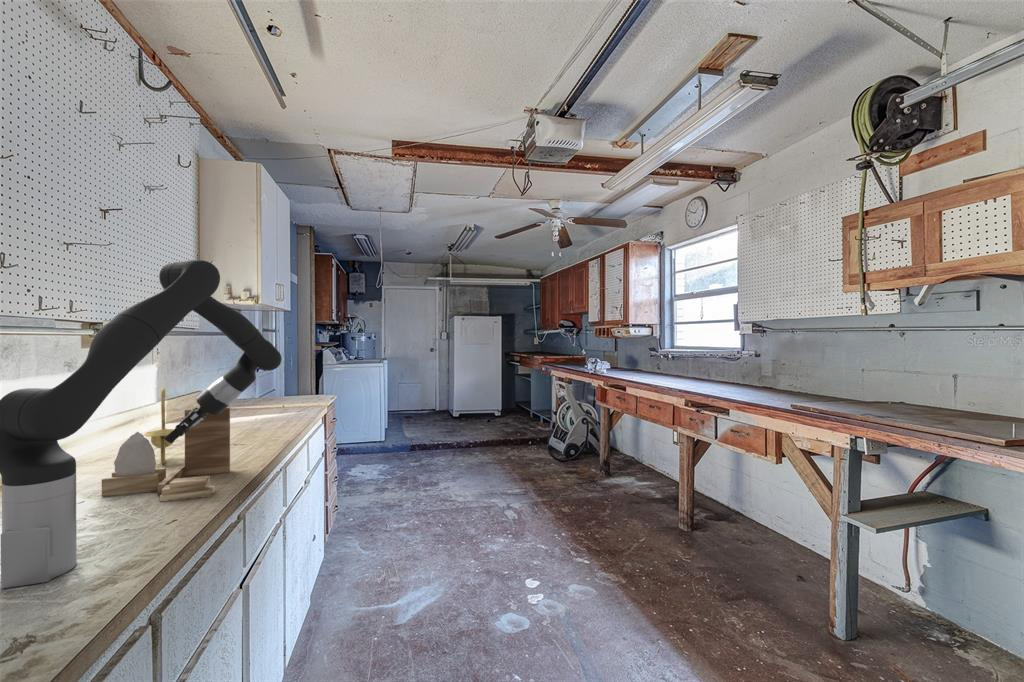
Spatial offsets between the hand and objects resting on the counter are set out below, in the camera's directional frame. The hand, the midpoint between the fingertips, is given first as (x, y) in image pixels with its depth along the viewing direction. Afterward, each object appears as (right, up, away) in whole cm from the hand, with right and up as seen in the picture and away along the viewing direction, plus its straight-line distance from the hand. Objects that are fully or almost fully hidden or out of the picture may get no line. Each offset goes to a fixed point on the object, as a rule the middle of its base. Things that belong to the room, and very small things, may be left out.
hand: (172, 437), depth 127 cm
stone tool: (-8, -13, -3) cm, 16 cm away
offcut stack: (+10, -14, -8) cm, 19 cm away
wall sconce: (-20, -13, +22) cm, 33 cm away
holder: (-8, -14, -3) cm, 16 cm away
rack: (+5, -14, +3) cm, 15 cm away
